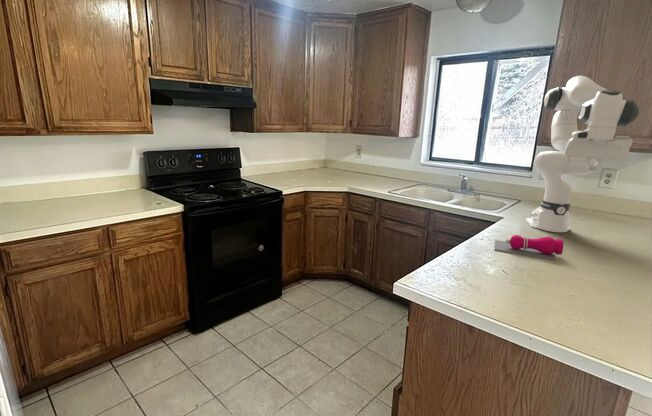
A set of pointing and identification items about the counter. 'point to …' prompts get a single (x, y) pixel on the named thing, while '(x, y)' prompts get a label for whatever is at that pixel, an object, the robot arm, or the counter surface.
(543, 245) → the pepper mill
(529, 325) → the counter surface
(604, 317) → the counter surface
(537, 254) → the mat
